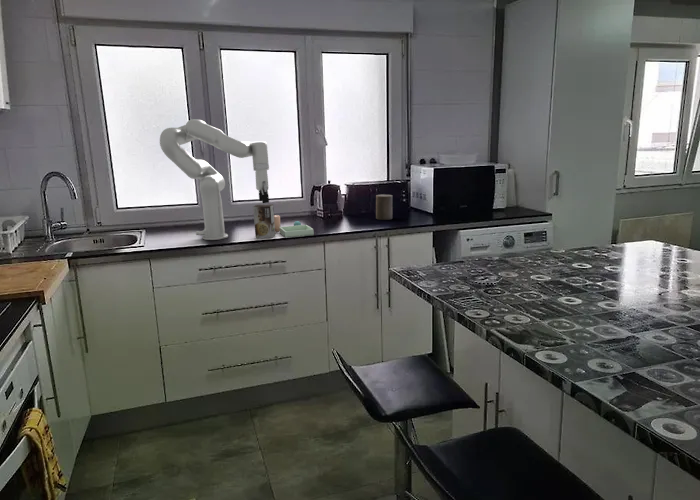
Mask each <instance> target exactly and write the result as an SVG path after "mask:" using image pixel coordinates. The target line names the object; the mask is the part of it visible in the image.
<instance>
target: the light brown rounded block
mask: <svg viewBox="0 0 700 500" xmlns="http://www.w3.org/2000/svg"><path fill="white" fill-rule="evenodd" d="M274 222H275V233H278V232H279V233H280V228H279V227H282V226H281V215H279V214H274Z"/></svg>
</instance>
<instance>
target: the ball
mask: <svg viewBox="0 0 700 500" xmlns="http://www.w3.org/2000/svg"><path fill="white" fill-rule="evenodd" d="M298 225H302V223H301V222H300V221H298V220H297V221H296V220H295V221H294V222H293V226H298Z"/></svg>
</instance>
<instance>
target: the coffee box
mask: <svg viewBox="0 0 700 500" xmlns="http://www.w3.org/2000/svg"><path fill="white" fill-rule="evenodd" d="M252 212H253V220H254V221H253V222H254V233H255V234H254V235H255V236H254V237H255V239H267V238H268V239H270V238H271V239H273V238H274V237H275V236H276V232H275V222H274V215H275V210H274V204H272V203H271V204H268V203H266V204H255V205H253V206H252Z"/></svg>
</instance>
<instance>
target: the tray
mask: <svg viewBox="0 0 700 500" xmlns="http://www.w3.org/2000/svg"><path fill="white" fill-rule="evenodd" d="M279 228H280V231H279V233H280V234H281V235H282V236H283V238H284V239H285V238H286V239H287V238H299V237H300V238H301V237H309V236H314V235H315V233H314V232H315V231H314V228H312V227H311V226H309V225H307V224H301V225H298V226H294V225H288V226H281V227H279Z"/></svg>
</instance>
